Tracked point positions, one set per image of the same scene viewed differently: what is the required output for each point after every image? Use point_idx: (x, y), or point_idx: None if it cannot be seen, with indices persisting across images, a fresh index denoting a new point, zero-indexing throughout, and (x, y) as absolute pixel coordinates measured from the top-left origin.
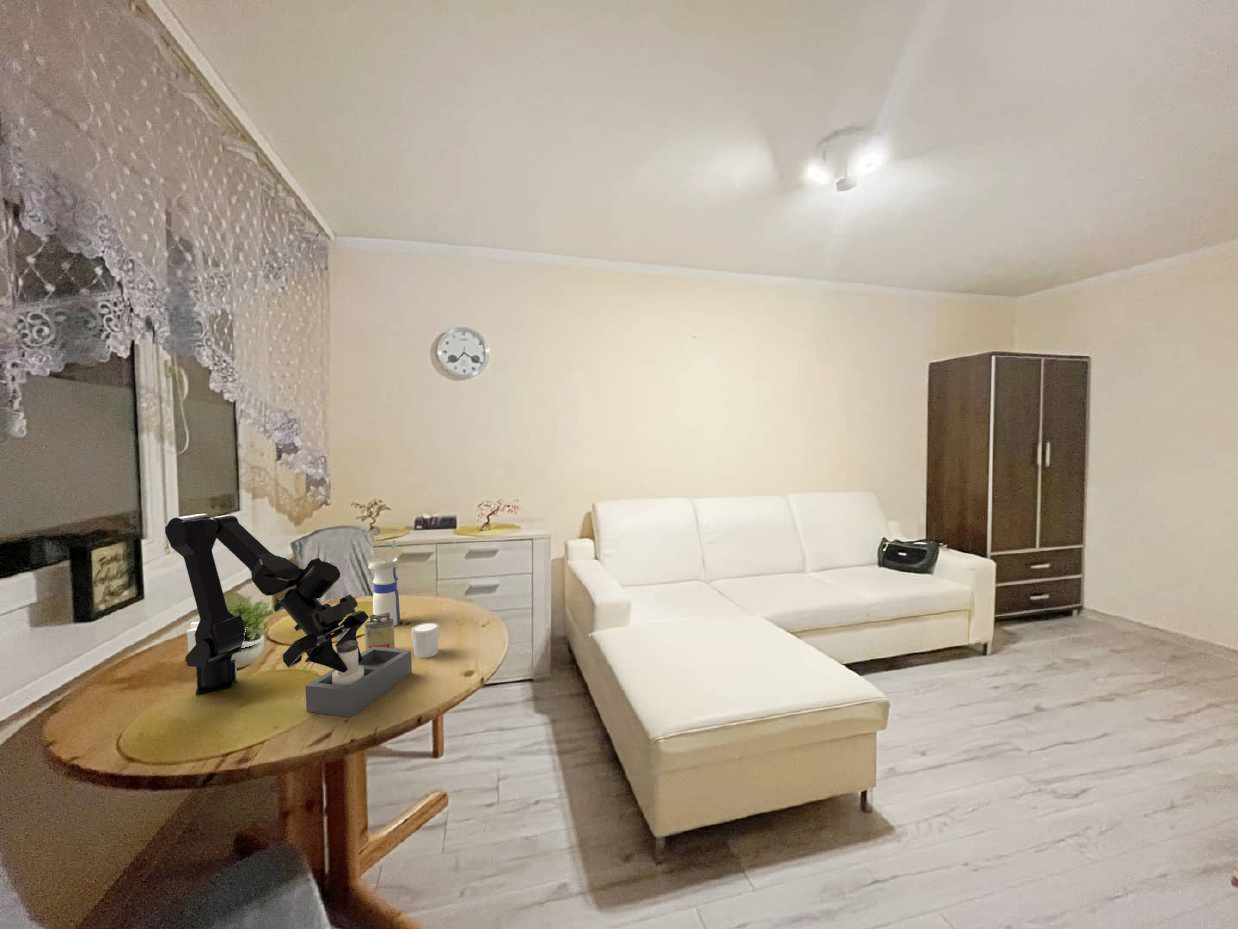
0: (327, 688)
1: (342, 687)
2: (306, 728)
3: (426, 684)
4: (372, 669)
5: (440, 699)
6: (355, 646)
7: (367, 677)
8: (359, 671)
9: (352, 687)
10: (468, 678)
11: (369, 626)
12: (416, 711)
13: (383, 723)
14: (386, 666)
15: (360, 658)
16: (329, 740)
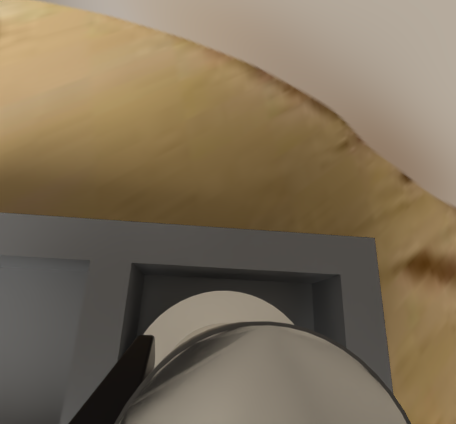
0: (392, 389)
1: (358, 303)
2: (420, 378)
3: (59, 133)
4: (127, 280)
5: (160, 52)
6: (265, 321)
7: (229, 242)
8: (209, 310)
9: (341, 248)
10: (12, 23)
11: None
12: (237, 86)
13: (316, 141)
14: (84, 218)
15: (151, 344)
16: (436, 240)
